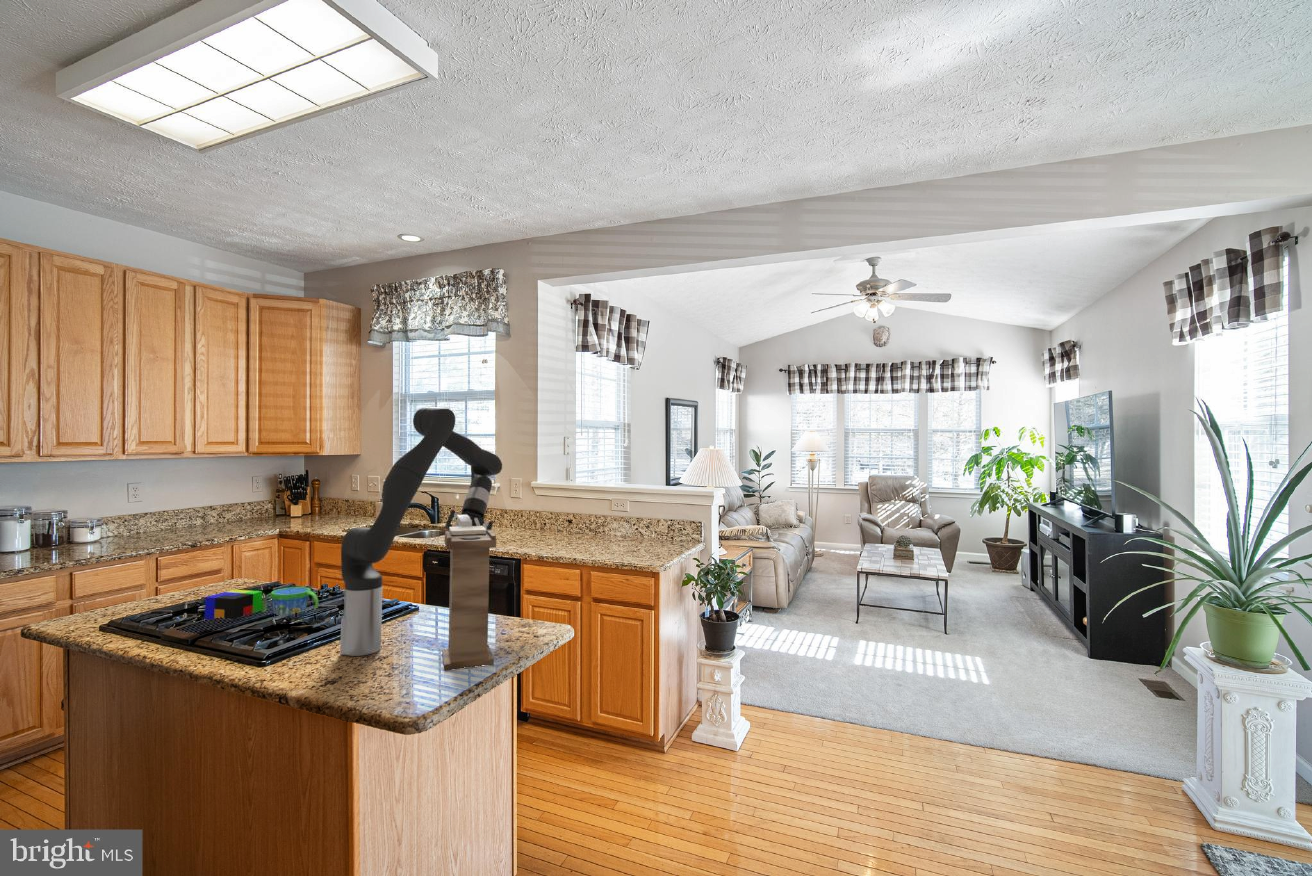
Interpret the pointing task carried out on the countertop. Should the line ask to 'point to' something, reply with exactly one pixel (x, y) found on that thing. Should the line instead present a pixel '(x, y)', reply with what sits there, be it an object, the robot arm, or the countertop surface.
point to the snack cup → (289, 600)
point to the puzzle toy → (233, 604)
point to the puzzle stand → (468, 600)
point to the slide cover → (466, 527)
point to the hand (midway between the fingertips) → (463, 544)
